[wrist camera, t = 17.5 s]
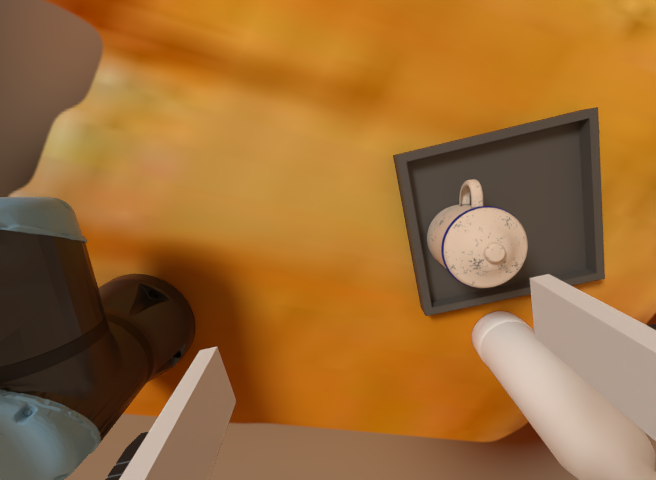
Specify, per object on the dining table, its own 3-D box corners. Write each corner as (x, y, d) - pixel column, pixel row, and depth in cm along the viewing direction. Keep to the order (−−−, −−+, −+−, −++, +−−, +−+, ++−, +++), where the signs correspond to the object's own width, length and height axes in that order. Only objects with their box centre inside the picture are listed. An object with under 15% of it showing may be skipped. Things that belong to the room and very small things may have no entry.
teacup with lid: (494, 267, 46) (543, 294, 34) (426, 272, 46) (452, 300, 35) (492, 177, 44) (543, 173, 33) (421, 183, 45) (447, 182, 33)
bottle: (477, 364, 51) (669, 639, 22) (463, 320, 50) (652, 556, 21) (530, 348, 51) (799, 609, 22) (517, 302, 49) (793, 520, 20)
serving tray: (421, 307, 49) (425, 315, 47) (393, 155, 44) (396, 155, 42) (590, 272, 48) (604, 278, 45) (582, 109, 42) (597, 107, 40)
